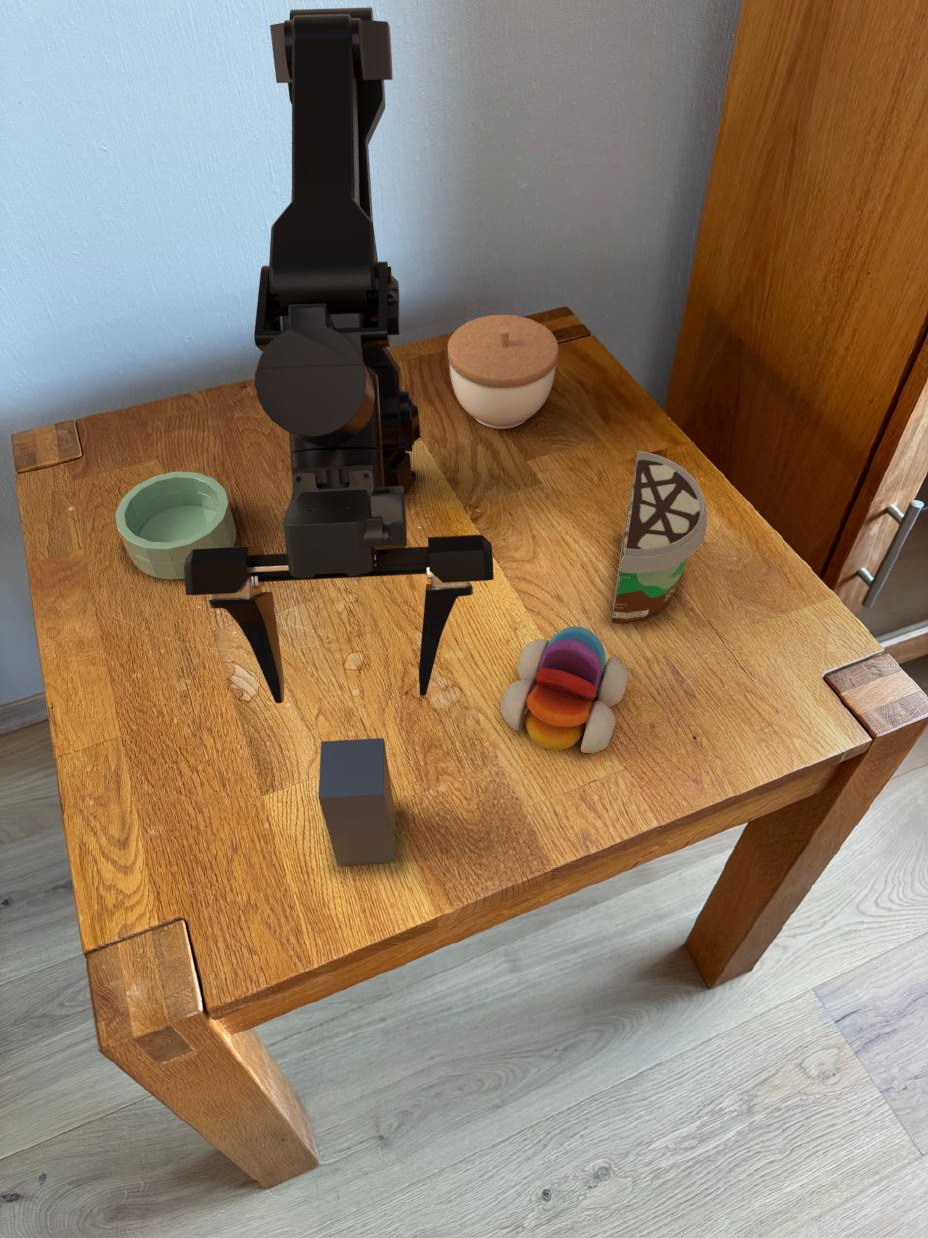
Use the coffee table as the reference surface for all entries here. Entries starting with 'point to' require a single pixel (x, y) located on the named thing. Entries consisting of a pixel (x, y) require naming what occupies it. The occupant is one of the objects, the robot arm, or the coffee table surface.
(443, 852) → the coffee table surface
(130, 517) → the bowl
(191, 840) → the coffee table surface
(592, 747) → the rainbow wheeled toy
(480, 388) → the trinket box
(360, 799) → the block
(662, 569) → the food container
